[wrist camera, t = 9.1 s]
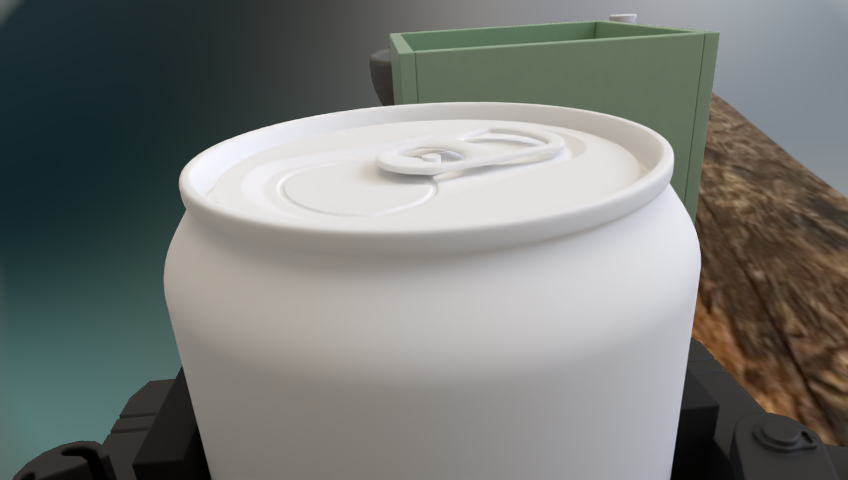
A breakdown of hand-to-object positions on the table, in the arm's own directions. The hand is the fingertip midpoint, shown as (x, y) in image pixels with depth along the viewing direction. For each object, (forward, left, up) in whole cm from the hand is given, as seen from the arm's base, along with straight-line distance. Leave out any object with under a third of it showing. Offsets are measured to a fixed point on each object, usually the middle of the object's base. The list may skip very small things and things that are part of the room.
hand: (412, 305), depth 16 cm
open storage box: (+9, +25, -7) cm, 28 cm away
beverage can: (0, -5, -7) cm, 8 cm away
